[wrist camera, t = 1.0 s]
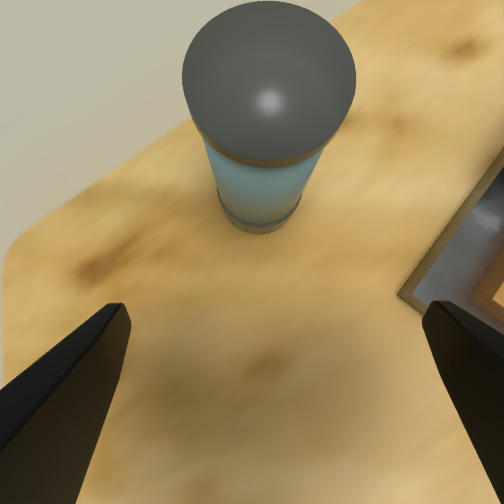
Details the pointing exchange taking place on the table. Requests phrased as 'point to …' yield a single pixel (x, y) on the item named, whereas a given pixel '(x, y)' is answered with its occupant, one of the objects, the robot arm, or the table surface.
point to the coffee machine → (467, 256)
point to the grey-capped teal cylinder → (266, 104)
